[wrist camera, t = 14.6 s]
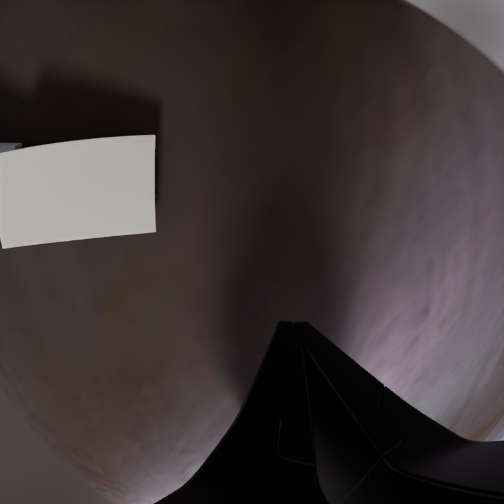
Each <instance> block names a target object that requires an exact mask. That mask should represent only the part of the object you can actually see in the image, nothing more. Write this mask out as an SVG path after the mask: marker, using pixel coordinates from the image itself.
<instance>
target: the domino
mask: <svg viewBox="0 0 504 504" xmlns="http://www.w3.org/2000/svg"><path fill="white" fill-rule="evenodd" d="M150 232H156V226H155V135H137V136H119V137H106V138H94V139H84V140H75V141H67V142H59V143H52V144H46V145H39V146H33V147H27V148H22V149H17V150H12V151H7V152H2V153H0V239H1V244H2V248H3V249H4V248H11V247H19V246H27V245H35V244H44V243H52V242H61V241H70V240H79V239H88V238H98V237H108V236H118V235H129V234H139V233H150Z"/></svg>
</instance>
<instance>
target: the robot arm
mask: <svg viewBox="0 0 504 504" xmlns="http://www.w3.org/2000/svg"><path fill="white" fill-rule="evenodd" d="M154 504H504V441H488V442H478V441H472V440H468V439H465V438H462V437H460V436H459V435H457V434H455V433H453V432H452V431H450V430H448V429H447V428H445V427H444V426H442V425H440V424H439V423H437V422H436V421H434V420H432V419H431V418H429V417H428V416H426V415H425V414H423V413H422V412H420V411H419V410H417V409H416V408H414V407H413V406H411V405H410V404H408V403H407V402H406V401H404V400H403V399H402V398H400V397H399V396H398V395H396V394H395V393H394V392H393V391H391V390H390V389H389V388H388V387H386V386H385V387H384V384H382V383H381V382H380V381H379V380H377V379H376V378H375V377H374V376H373V375H371V374H370V373H369V372H368V371H366V370H365V369H364V368H363V367H361V366H360V365H359V364H358V363H357V362H355V361H354V360H353V359H352V358H350V357H349V356H348V355H347V354H346V353H344V352H343V351H342V350H341V349H340V348H338V347H337V346H336V345H335V344H333V343H332V342H331V341H330V340H329V339H327V338H326V337H325V336H324V335H323V334H321V333H320V332H319V331H318V330H317V329H315V328H314V327H313V326H312V325H311V324H309V323H308V322H294V323H293V322H287V321H280V322H278V324H277V327H276V329H275V332H274V334H273V337H272V339H271V342H270V344H269V346H268V349H267V351H266V353H265V356H264V358H263V361H262V363H261V365H260V368H259V370H258V372H257V375H256V377H255V379H254V381H253V384H252V386H251V388H250V390H249V393H248V394H247V397H246V399H245V401H244V403H243V405H242V407H241V409H240V411H239V413H238V415H237V417H236V419H235V420H234V422H233V423H232V425H231V426H230V428H229V429H228V431H227V432H226V434H225V435H224V437H223V438H222V439H221V441H220V442H219V443H218V445H217V446H216V447H215V449H214V450H213V451H212V453H211V454H210V455H209V457H208V458H207V459H206V461H205V462H204V463H203V464H202V466H201V467H200V468H199V469H198V471H197V472H196V473H195V474H194V475H193V476H192V477H191V478H190V480H188V481H187V482H186V483H185V484H184V485H183V486H182V487H180V488H179V489H178V490H176V491H174V492H173V493H171V494H169V495H168V496H166V497H164V498H163V499H161V500H159V501H158V502H156V503H154Z"/></svg>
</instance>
